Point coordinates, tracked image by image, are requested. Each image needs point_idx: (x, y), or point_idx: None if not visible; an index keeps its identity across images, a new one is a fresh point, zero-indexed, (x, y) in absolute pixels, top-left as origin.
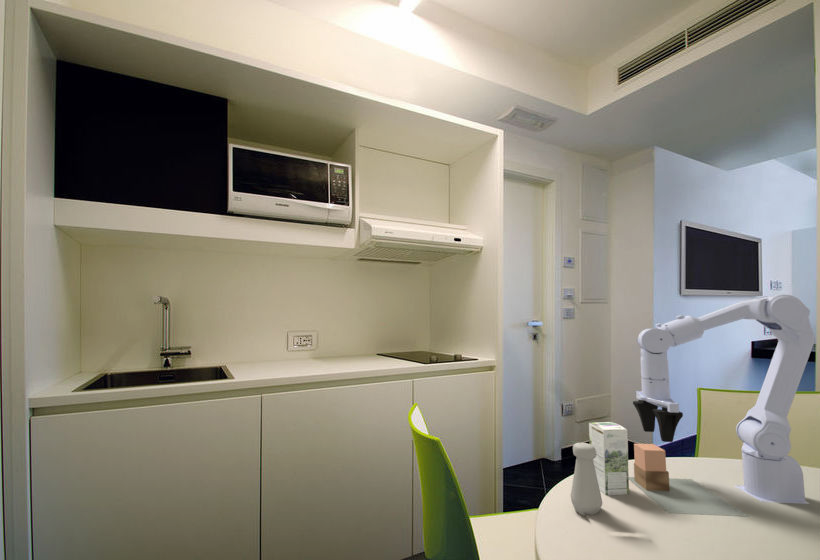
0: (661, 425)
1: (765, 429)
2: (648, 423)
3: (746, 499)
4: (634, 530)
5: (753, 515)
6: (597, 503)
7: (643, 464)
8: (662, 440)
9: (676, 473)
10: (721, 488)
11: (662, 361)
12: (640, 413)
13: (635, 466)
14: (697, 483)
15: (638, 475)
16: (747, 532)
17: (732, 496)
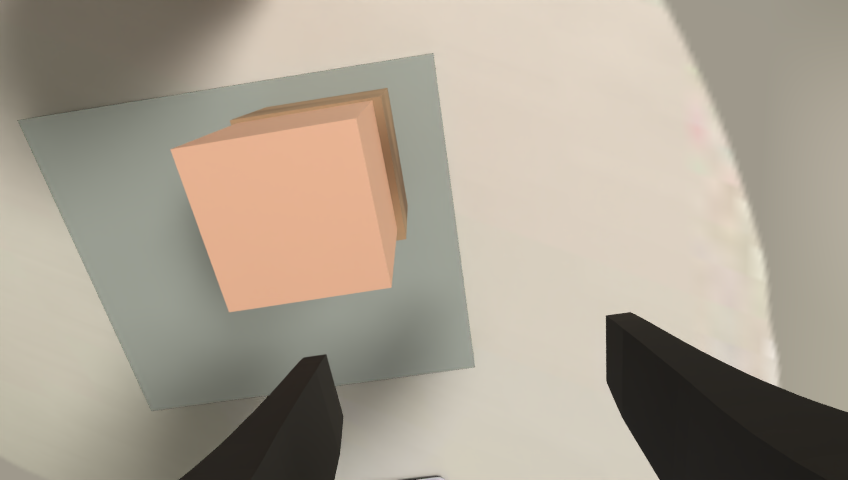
0: (199, 463)
1: None
2: (646, 398)
3: (343, 466)
4: None
5: (202, 428)
6: None
7: (243, 124)
8: (312, 358)
9: (568, 339)
10: (428, 435)
11: None
12: (731, 411)
13: (362, 98)
14: (428, 371)
15: (331, 99)
16: (39, 352)
17: (357, 437)
